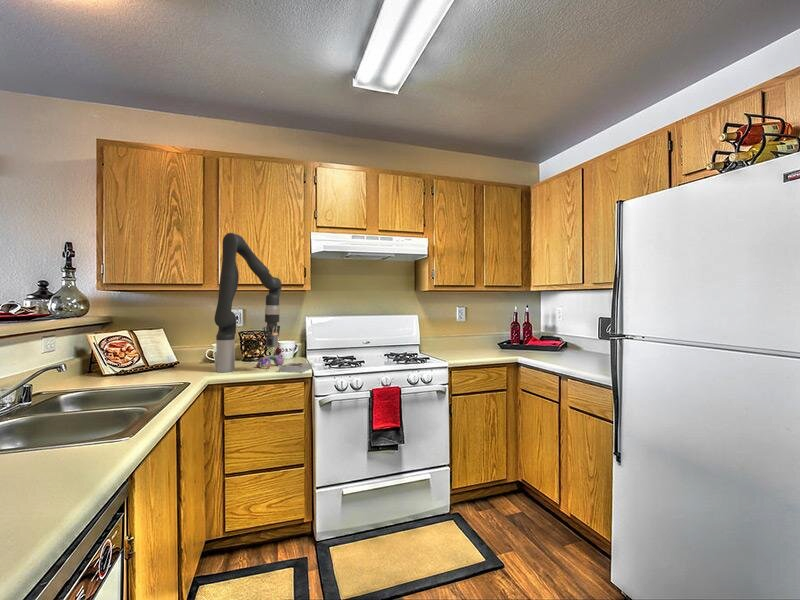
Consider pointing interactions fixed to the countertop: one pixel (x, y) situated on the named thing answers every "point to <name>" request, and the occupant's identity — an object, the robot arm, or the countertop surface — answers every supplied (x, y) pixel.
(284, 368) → the socket plate
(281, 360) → the toy
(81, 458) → the countertop surface
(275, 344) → the plug
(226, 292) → the robot arm
